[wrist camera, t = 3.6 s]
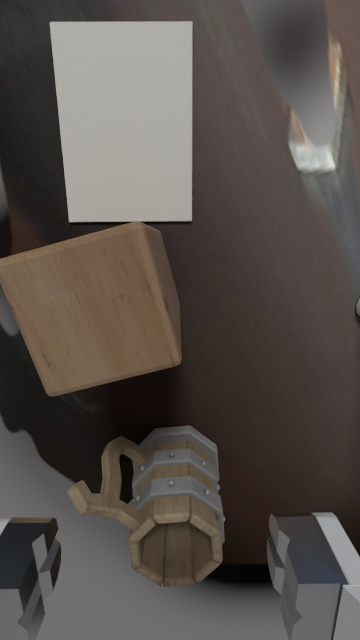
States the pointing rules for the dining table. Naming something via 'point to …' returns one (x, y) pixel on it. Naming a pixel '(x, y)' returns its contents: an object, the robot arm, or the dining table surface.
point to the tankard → (164, 503)
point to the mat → (125, 119)
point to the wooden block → (96, 307)
